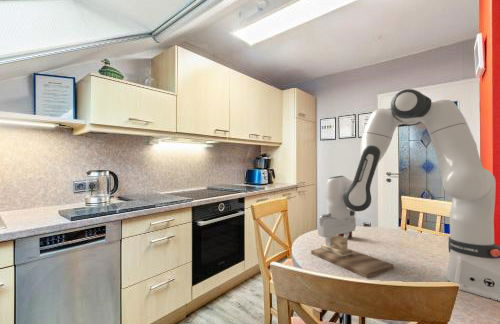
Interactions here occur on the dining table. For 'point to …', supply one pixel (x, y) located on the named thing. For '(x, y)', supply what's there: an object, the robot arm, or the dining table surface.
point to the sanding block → (338, 246)
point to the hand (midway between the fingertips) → (337, 243)
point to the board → (356, 262)
